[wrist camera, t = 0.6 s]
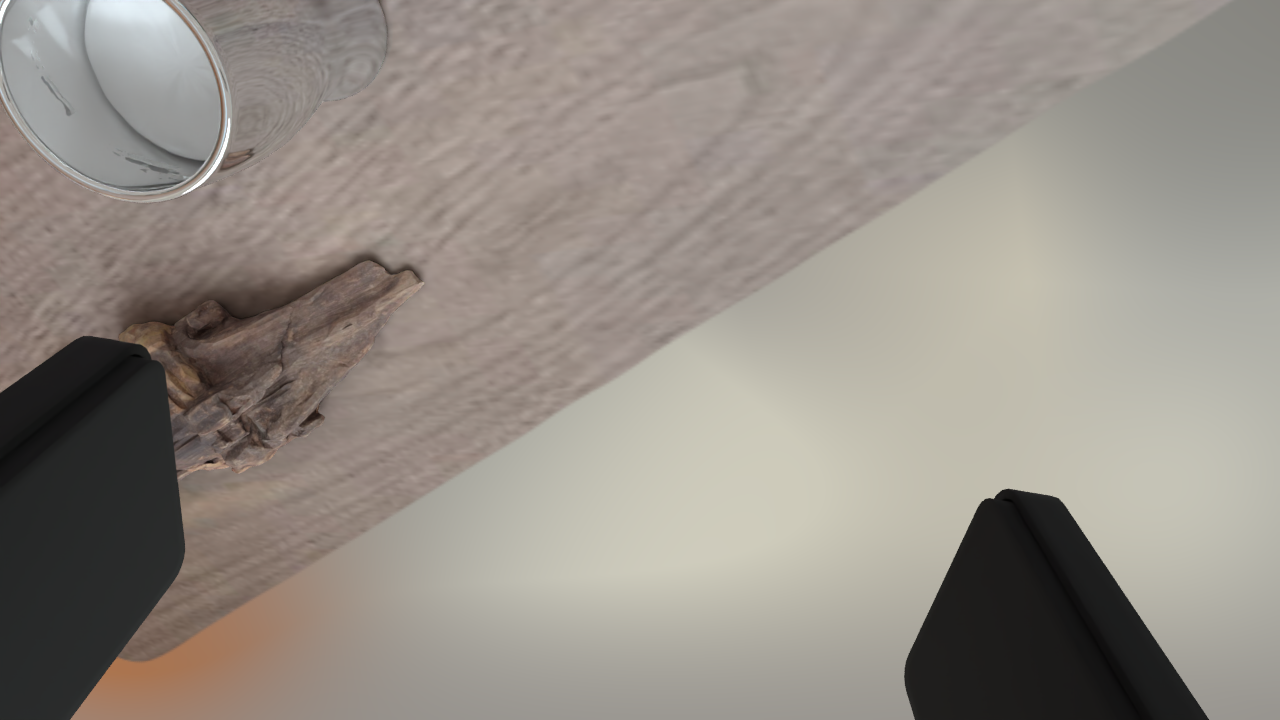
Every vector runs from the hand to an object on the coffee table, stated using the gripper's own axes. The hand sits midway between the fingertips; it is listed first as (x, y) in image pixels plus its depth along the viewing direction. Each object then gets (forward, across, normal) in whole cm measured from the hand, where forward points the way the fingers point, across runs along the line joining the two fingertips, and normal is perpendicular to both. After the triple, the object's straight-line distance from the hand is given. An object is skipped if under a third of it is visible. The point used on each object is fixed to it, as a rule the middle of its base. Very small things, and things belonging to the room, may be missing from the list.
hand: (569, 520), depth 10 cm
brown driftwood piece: (+30, +21, +21) cm, 42 cm away
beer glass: (+30, +14, 0) cm, 34 cm away
